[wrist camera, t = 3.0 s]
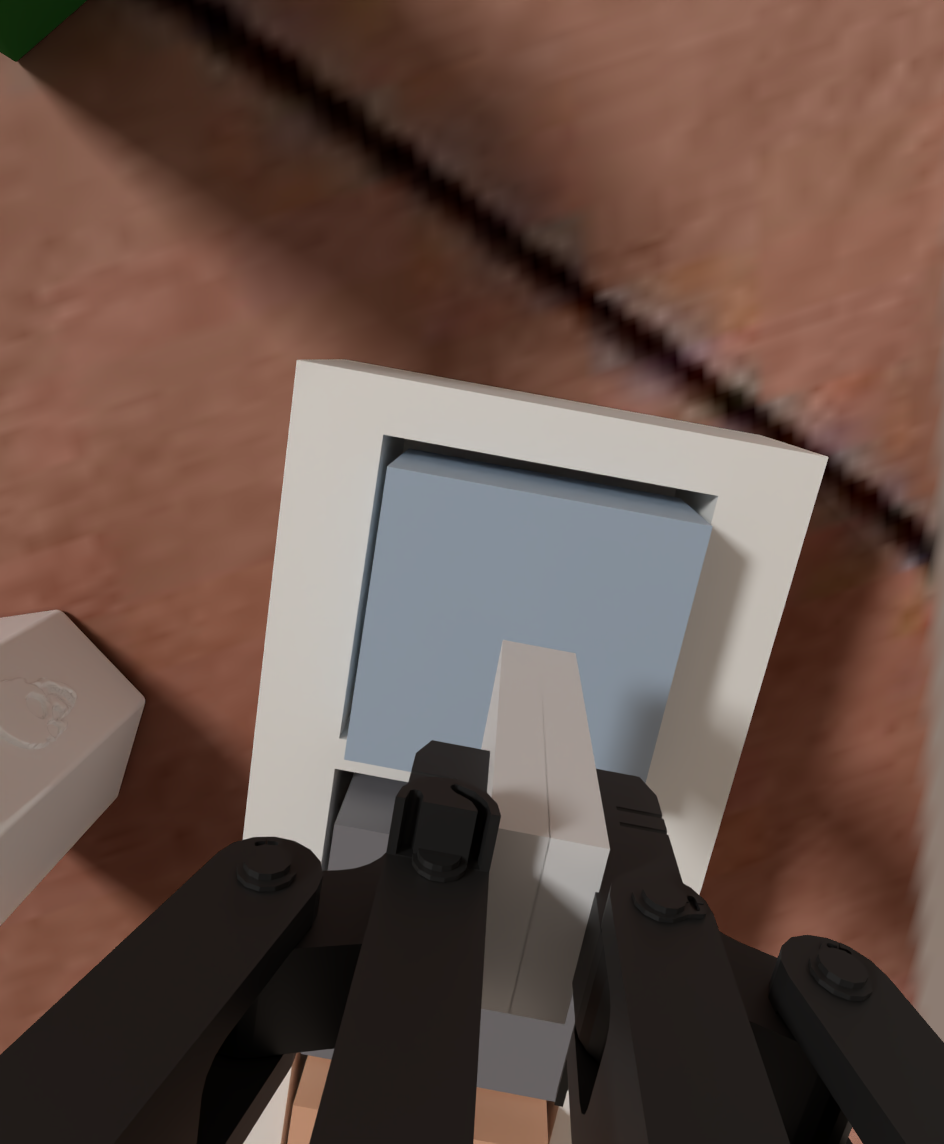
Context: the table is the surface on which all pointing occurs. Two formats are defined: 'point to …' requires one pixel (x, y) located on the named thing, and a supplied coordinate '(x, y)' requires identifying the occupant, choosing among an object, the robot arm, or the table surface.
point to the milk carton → (30, 22)
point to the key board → (536, 443)
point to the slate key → (519, 603)
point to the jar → (56, 744)
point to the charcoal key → (507, 1042)
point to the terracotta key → (502, 1120)
